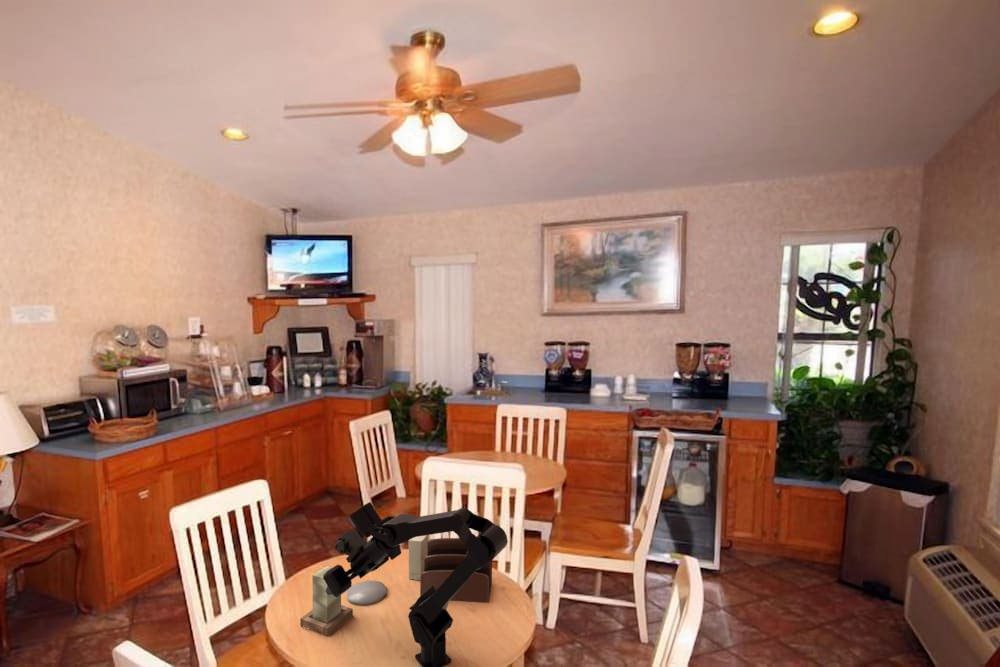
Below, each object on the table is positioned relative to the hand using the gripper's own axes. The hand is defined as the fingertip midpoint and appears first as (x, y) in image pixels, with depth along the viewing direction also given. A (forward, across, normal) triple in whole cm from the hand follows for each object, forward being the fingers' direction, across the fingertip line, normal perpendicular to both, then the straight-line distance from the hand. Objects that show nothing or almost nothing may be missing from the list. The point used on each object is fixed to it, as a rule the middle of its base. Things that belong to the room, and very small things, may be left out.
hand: (340, 583), depth 126 cm
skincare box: (+5, -30, +11) cm, 32 cm away
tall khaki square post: (+11, 0, +5) cm, 12 cm away
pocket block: (+11, 0, +5) cm, 12 cm away
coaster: (+10, -14, +6) cm, 18 cm away
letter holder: (-6, -27, +22) cm, 35 cm away
